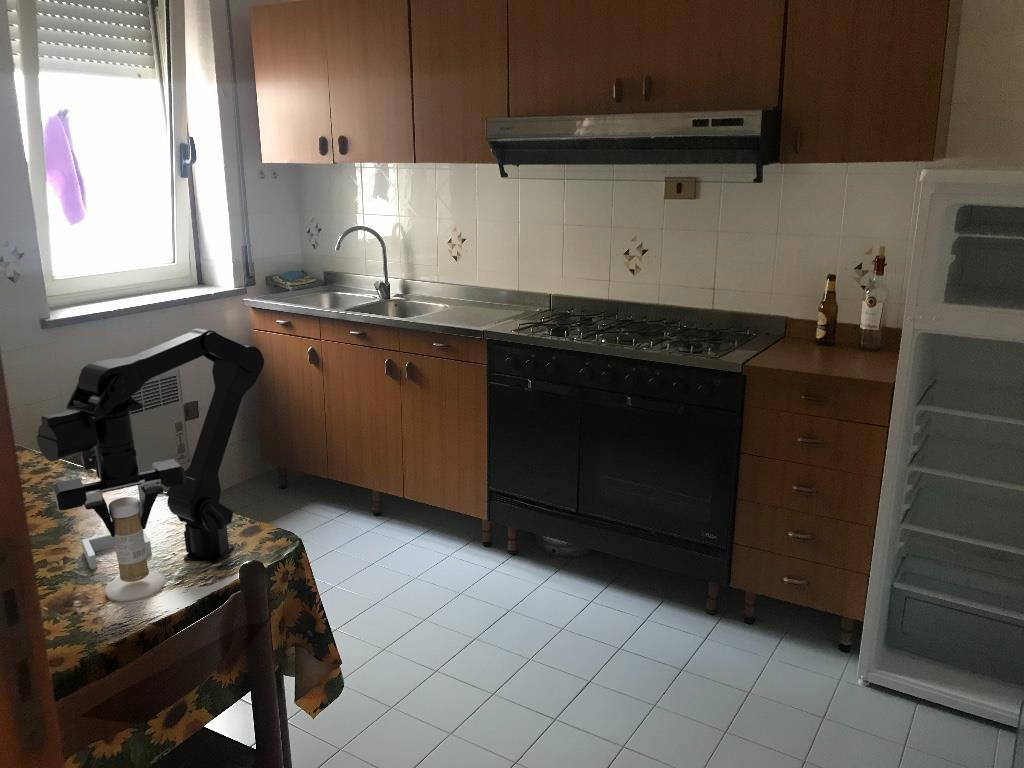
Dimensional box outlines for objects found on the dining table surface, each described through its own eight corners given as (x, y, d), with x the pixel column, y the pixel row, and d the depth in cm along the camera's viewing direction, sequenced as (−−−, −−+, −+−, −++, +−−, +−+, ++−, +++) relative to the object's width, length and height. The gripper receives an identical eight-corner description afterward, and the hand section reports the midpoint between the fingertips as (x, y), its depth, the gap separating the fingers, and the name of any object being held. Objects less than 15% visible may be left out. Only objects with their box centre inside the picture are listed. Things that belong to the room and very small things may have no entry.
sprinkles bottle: (142, 567, 140) (131, 493, 136) (154, 576, 137) (144, 500, 133) (114, 577, 137) (103, 501, 133) (126, 586, 134) (115, 509, 130)
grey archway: (83, 552, 150) (81, 539, 149) (142, 537, 156) (140, 525, 155) (91, 569, 144) (88, 556, 143) (151, 553, 149) (150, 541, 149)
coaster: (175, 576, 141) (175, 572, 141) (144, 604, 132) (143, 599, 132) (127, 572, 142) (127, 568, 142) (93, 599, 134) (92, 595, 134)
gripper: (164, 418, 142) (175, 502, 146) (41, 440, 132) (57, 529, 136) (180, 435, 133) (192, 524, 138) (50, 460, 123) (67, 555, 127)
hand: (128, 532), depth 135 cm, fingers closed on sprinkles bottle, 4 cm apart
